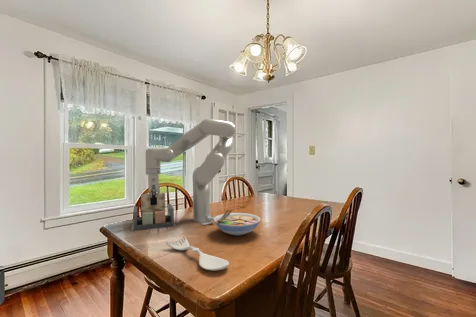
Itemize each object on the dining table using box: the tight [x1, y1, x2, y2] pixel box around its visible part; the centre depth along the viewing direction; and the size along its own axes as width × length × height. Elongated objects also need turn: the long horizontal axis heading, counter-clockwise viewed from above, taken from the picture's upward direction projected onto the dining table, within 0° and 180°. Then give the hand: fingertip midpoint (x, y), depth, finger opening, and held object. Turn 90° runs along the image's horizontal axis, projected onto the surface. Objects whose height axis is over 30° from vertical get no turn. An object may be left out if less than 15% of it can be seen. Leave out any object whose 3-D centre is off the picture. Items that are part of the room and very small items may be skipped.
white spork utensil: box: [165, 236, 230, 272], centre depth 86 cm, size 9×32×4 cm, turn 44°
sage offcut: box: [142, 212, 153, 225], centre depth 119 cm, size 5×4×7 cm
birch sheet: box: [140, 192, 166, 219], centre depth 126 cm, size 12×2×16 cm, turn 113°
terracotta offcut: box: [155, 210, 166, 224], centre depth 122 cm, size 5×4×7 cm
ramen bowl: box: [213, 209, 261, 237], centre depth 113 cm, size 25×23×8 cm
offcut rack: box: [130, 203, 177, 232], centre depth 123 cm, size 21×14×10 cm, turn 113°
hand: (153, 203), depth 126 cm, fingers open, 9 cm apart
